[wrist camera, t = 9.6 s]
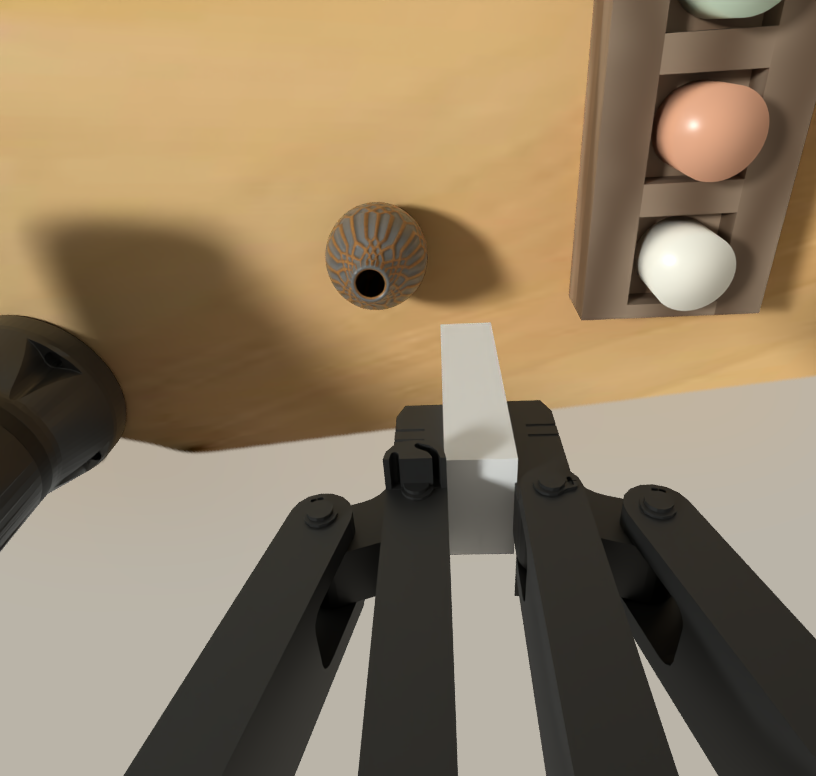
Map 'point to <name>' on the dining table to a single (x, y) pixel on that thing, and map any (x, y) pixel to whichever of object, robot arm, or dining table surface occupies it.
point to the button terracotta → (710, 129)
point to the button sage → (727, 8)
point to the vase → (376, 256)
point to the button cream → (684, 263)
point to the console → (664, 185)
